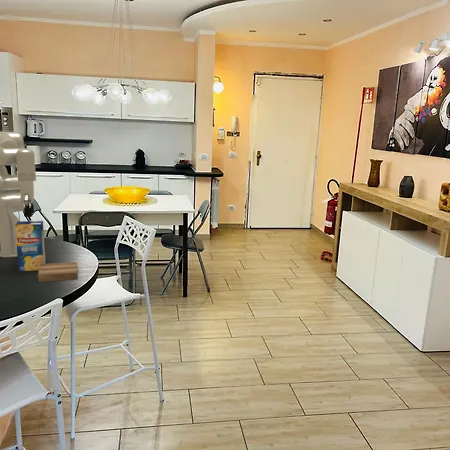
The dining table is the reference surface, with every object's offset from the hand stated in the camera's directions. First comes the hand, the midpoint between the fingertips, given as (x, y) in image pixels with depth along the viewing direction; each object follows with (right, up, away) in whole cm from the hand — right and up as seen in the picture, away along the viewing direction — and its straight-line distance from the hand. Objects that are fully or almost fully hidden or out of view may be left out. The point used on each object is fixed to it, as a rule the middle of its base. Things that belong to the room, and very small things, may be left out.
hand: (29, 214), depth 200 cm
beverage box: (-1, -25, +6) cm, 26 cm away
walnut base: (+14, -27, -1) cm, 31 cm away
